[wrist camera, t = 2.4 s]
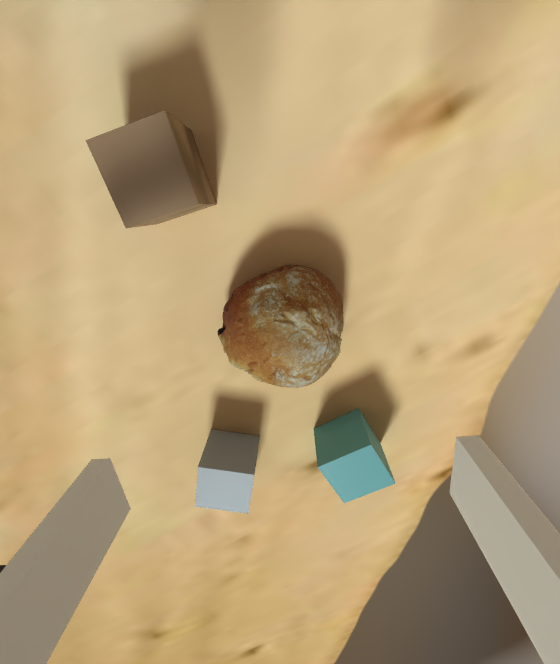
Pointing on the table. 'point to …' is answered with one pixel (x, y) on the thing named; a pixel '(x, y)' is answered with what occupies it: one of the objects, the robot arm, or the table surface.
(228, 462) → the slate grey block
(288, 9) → the table surface
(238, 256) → the table surface
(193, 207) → the walnut block
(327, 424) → the dark teal block
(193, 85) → the table surface
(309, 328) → the bread roll
